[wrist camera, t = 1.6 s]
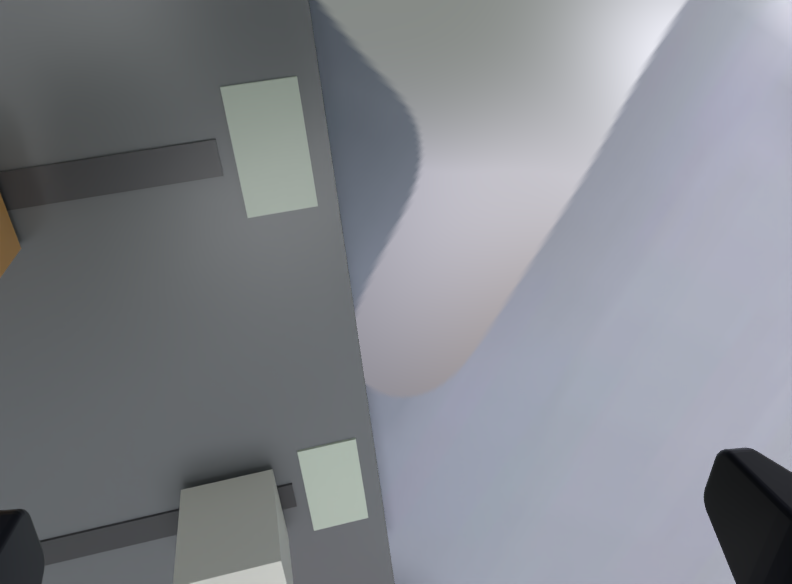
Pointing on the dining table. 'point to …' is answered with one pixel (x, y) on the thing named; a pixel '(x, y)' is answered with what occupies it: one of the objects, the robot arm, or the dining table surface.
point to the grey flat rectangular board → (176, 286)
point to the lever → (233, 533)
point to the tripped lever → (7, 239)
